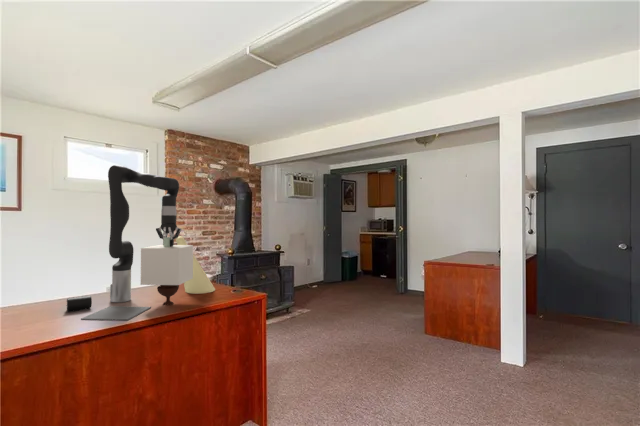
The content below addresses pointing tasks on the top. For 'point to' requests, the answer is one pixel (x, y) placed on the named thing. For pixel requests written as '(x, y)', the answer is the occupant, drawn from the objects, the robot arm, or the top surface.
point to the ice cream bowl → (167, 292)
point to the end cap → (79, 303)
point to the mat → (116, 313)
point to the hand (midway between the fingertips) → (168, 246)
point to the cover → (166, 264)
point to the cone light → (196, 276)
